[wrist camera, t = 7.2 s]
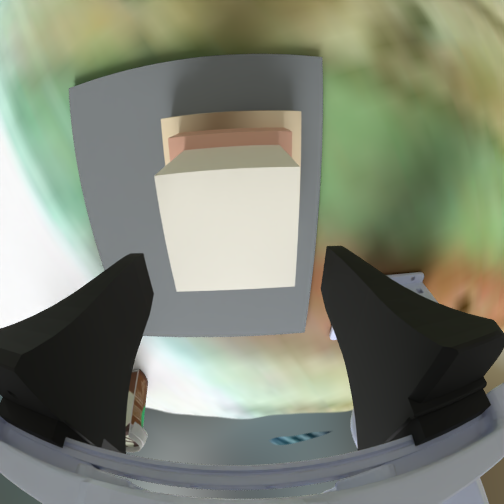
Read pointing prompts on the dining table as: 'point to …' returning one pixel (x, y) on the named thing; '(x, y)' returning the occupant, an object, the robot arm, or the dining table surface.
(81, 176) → the mat
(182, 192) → the top block
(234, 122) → the bottom slab
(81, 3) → the dining table surface
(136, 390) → the food container
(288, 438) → the dining table surface
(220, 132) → the middle block
